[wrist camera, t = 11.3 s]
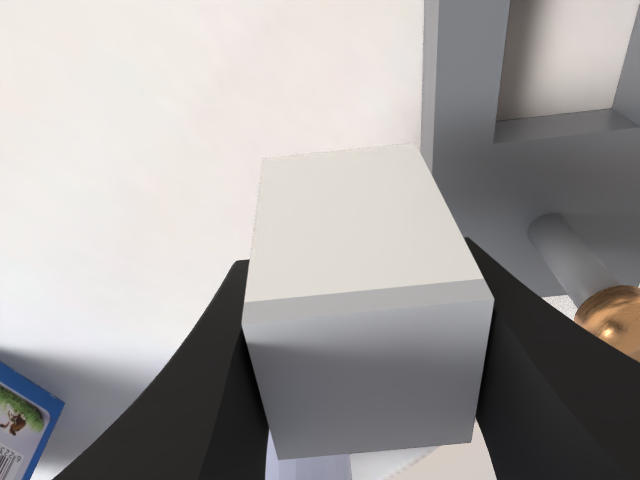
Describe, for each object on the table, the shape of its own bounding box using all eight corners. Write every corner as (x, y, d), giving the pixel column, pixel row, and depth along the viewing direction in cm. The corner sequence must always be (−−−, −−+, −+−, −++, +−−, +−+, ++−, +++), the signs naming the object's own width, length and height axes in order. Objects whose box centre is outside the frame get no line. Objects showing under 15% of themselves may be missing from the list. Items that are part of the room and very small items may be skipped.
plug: (412, 262, 15) (470, 442, 10) (283, 275, 15) (278, 460, 10) (415, 142, 12) (494, 299, 7) (262, 158, 12) (241, 324, 7)
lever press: (614, 261, 24) (710, 368, 18) (417, 281, 24) (453, 394, 19) (779, -232, 13) (1117, -327, 8) (429, -187, 14) (519, -248, 8)
